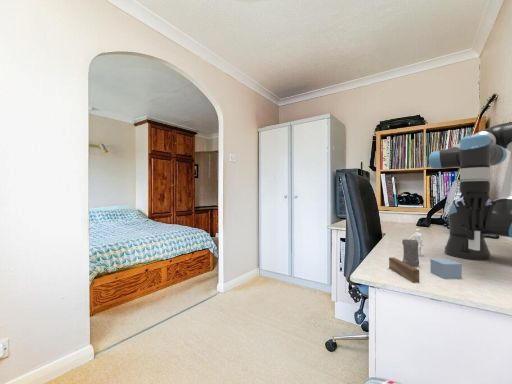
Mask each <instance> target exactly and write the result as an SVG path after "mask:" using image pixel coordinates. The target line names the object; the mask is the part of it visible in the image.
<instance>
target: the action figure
mask: <svg viewBox="0 0 512 384" xmlns="http://www.w3.org/2000/svg"><path fill="white" fill-rule="evenodd" d="M420 232H421V229H420V228H416V230H415V233H413V234H412V236H410V237H409V238H407V239H406V240H413V238H414V240H417V241H418V257H424V255H423V253H422V247H424V244H423V243H422V242H423V241H424V239H423V234H422V233H420Z"/></svg>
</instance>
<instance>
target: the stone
mask: <svg viewBox="0 0 512 384" xmlns="http://www.w3.org/2000/svg"><path fill="white" fill-rule="evenodd" d="M402 245H403V247H402V248H403V255H402V256H403V257H402V258H403V259H402V262H404V263H406V264H408V265H410V266H412V267H414V268H417V267H420V259H419V254H418V241H417V240H415V239H410V240H407V239H404V238H403V239H402Z"/></svg>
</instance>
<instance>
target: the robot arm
mask: <svg viewBox="0 0 512 384" xmlns="http://www.w3.org/2000/svg"><path fill="white" fill-rule="evenodd" d="M506 149H507V150H506ZM507 151H509V152H510V153H509V158H508V162H507V167H506V171H505V174H504V175H505V176H504V179H503V182H502V187H501V191H500V195H499V198H496V199H495V200H492V199H490V197H489V195H488V193H490V189H491V188H490V187H491V186H490V185H491V183H490V181H489V180H490V179H491V175H490V174H491V173H490V172H491V171H490V167H491V166H497V165H501V163H503V162H505V160H506V159H507V156H508V152H507ZM428 164H429V166H430V167H431V168H432V169H434V170H438V169H440V170H443V169H453V168H459V180H460V183H459V191H460V193H461V195H460V196H459V199H457V200H453V201H452V205H451V206H450V207H449V212H448V213H449V214H448V216H449V222H448V223H449V237H448V240H447V241H446V245H445V246H444V253H445V254H446V255H449V256H452V257H456V258H461V259H465V260H466V259H467V260H477V261H479V260H480V261H485V260H490V259H491V252H490V250H489V247H488V244H487V242H486V240H485V239H486V238H485V235H489V236H490V235H491V236H499V237H506V238H511V239H512V121H511V122H509V121H508V122H503V123H499V124H496V125H492V126H490V127H488V128H484V129H482V130H480V131H478V132H476V133H474V134H471V135H466V136H464V137H462V138H461V139H460V142H459V143H457V144H455V145H453V146H451V147H448V148H446V149H442V150H440V149H439V150H436V151H432V152H430V154H429V156H428Z"/></svg>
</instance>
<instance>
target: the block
mask: <svg viewBox="0 0 512 384" xmlns="http://www.w3.org/2000/svg"><path fill="white" fill-rule="evenodd" d="M429 261H430V265H429V266H430V273H431V274H433V275H435V276H438V277H439V278H441V279H443V280H455V279H457V280H458V279H459V280H460V279H463V273H462V272H463V263H460V262H458V261H454V260H452V259H449V258H430V259H429Z"/></svg>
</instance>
